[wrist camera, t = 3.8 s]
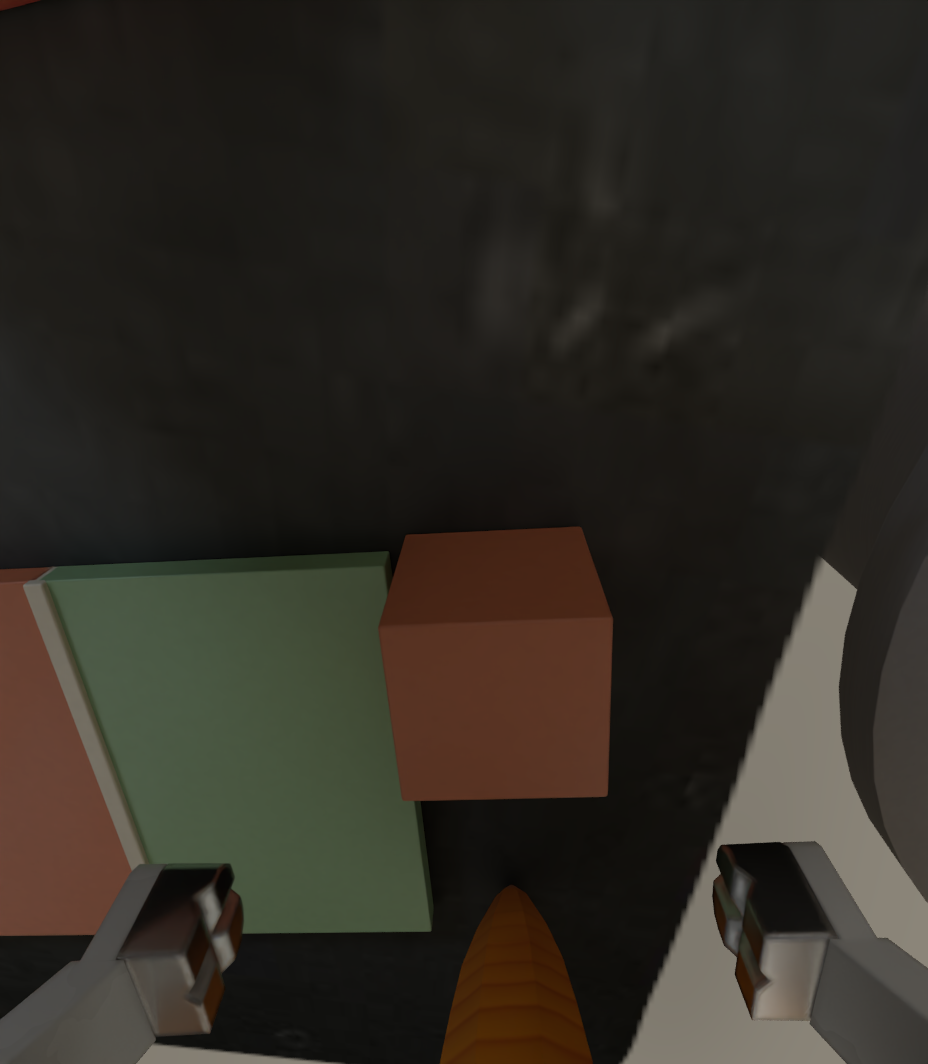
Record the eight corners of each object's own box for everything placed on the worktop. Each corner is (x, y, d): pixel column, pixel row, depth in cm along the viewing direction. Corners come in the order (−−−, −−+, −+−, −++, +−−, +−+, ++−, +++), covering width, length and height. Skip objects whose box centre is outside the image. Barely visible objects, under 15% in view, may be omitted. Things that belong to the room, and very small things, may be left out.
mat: (389, 550, 18) (383, 569, 17) (433, 906, 24) (431, 937, 23) (-255, 580, 20) (-300, 599, 18) (-64, 913, 25) (-89, 942, 24)
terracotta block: (581, 525, 18) (613, 617, 13) (580, 673, 20) (608, 797, 15) (405, 533, 18) (376, 627, 14) (421, 678, 20) (401, 803, 16)
